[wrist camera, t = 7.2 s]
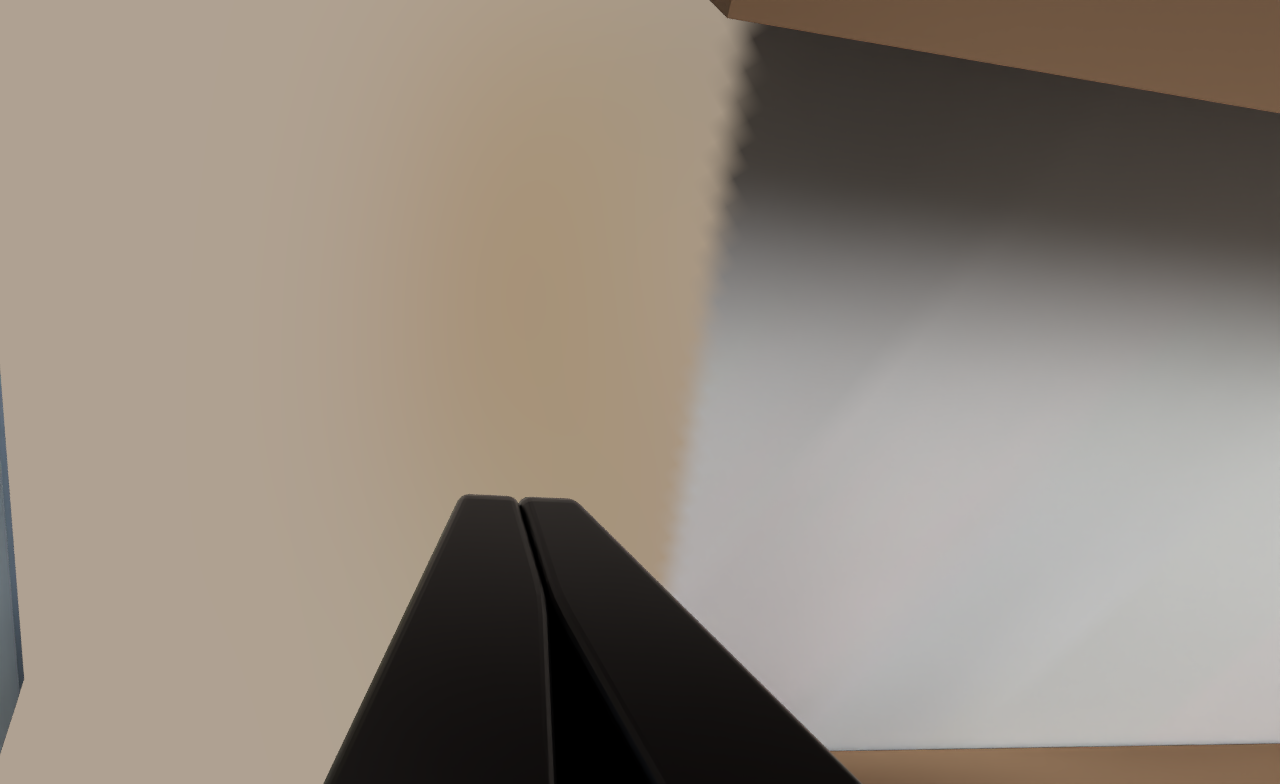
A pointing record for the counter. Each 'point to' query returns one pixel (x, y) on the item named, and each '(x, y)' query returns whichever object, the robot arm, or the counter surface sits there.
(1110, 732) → the counter surface
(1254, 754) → the trap channel
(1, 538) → the slate block
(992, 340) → the counter surface
